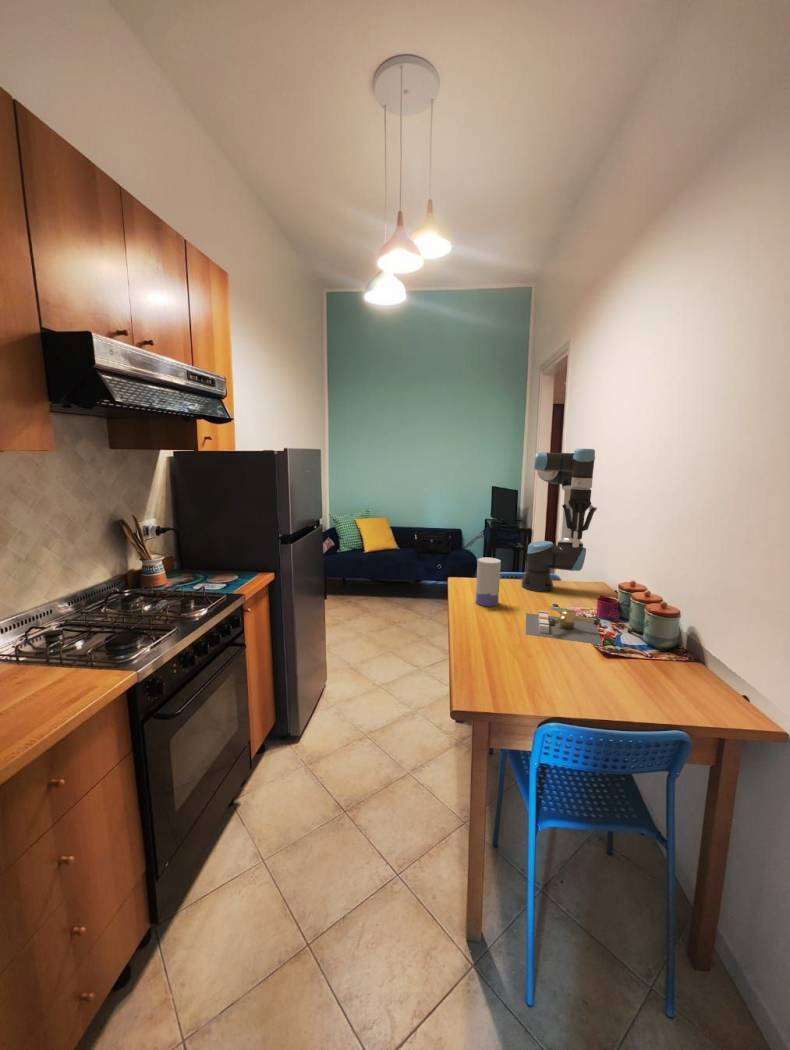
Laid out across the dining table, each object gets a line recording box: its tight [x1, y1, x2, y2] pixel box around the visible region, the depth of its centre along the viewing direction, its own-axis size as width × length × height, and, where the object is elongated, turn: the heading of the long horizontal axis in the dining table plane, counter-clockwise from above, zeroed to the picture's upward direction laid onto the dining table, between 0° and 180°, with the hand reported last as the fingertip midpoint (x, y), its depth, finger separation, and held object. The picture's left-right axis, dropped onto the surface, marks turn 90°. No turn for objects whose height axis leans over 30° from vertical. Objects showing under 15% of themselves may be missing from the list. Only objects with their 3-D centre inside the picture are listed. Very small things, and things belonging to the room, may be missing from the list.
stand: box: [525, 610, 604, 646], centre depth 163 cm, size 22×26×4 cm
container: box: [475, 556, 502, 608], centre depth 190 cm, size 10×10×20 cm
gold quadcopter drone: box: [549, 603, 601, 629], centre depth 162 cm, size 20×18×7 cm
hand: (575, 546), depth 172 cm, fingers closed
